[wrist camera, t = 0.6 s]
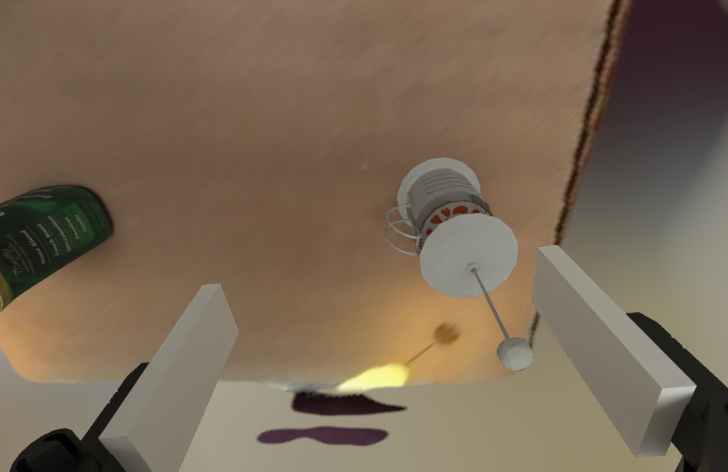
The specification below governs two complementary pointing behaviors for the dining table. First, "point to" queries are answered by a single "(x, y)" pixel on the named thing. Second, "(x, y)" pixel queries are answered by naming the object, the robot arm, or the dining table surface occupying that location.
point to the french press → (459, 239)
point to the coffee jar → (46, 235)
